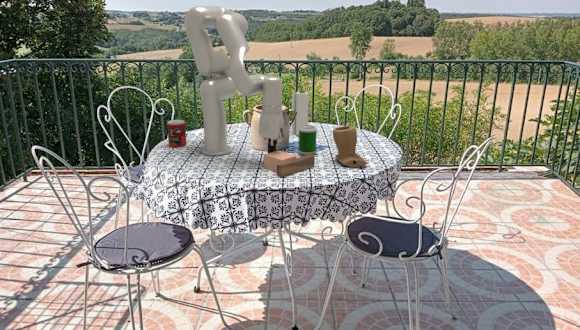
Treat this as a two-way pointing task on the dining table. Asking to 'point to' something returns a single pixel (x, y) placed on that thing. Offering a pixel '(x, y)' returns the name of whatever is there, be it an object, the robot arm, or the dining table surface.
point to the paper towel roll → (300, 110)
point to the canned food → (176, 133)
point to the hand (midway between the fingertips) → (271, 154)
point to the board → (295, 165)
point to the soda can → (307, 139)
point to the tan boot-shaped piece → (347, 146)
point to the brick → (276, 159)
